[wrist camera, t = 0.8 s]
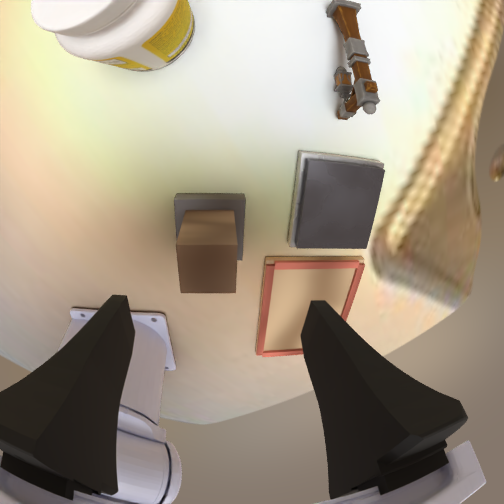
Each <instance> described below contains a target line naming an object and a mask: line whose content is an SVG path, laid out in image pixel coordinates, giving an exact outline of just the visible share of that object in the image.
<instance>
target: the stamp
mask: <svg viewBox="0 0 504 504" xmlns="http://www.w3.org/2000/svg"><path fill="white" fill-rule="evenodd" d="M174 205H175V222H176V236H177V243H176V250H177V261H178V272H179V281H180V290H181V293H236V273H237V260H242V256H243V237H244V218H245V195H244V194H233V193H180V194H176V197H175V199H174Z"/></svg>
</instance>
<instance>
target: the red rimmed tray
mask: <svg viewBox="0 0 504 504" xmlns="http://www.w3.org/2000/svg"><path fill="white" fill-rule="evenodd" d="M364 267H365V264H364V258H363V257H362V256H358V257H265V267H264V276H263V286H262V296H261V305H260V314H259V324H258V333H257V342H256V355H262V357H272V356H287V355H299V354H303V349H302V343H301V337H300V335H301V332H302V328H303V325H304V322H305V319H306V315H307V312H308V309H309V305H310V302H311V300H325V301H326V302H327V303H328V304H329V305H330V306H331V307H332V308H333V309H334V310H335V311H336V312H337V313H338V314H339V315H340V316H341V317H342V318H343V319H344V320H345V321H346V320H347V317H348V314H349V311H350V309H351V306H352V303H353V300H354V297H355V294H356V291H357V288H358V285H359V282H360V279H361V276H362V273H363V270H364Z"/></svg>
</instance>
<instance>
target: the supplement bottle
mask: <svg viewBox="0 0 504 504" xmlns="http://www.w3.org/2000/svg"><path fill="white" fill-rule="evenodd" d="M31 13H32V17H33V20H34V21H35V23H36V24H37V25H38V26H39V27H41V28H42V29H44V30H47V31H50V32H54V33H55V36H56V38H57V40H58V42H59V44H60V45H61V46H62V47H63V48H64V49H65V50H66V51H67V52H69V53H70V54H72V55H74V56H77V57H80V58H83V59H88V60H92V61H97V62H101V63H105V64H109V65H113V66H117V67H121V68H125V69H128V70H133V71H151V70H156V69H159V68H162V67H164V66H166V65H168V64H170V63H171V62H173V61H174V60H176V59H177V58H178V57H179V56H180V55H181V54H182V53H183V52H184V51H185V50H186V49H187V47H188V46H189V44H190V42H191V40H192V37H193V34H194V28H195V23H194V17H193V14H192V11H191V8H190V5H189V2H188V0H32V2H31Z"/></svg>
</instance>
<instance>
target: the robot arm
mask: <svg viewBox="0 0 504 504" xmlns="http://www.w3.org/2000/svg"><path fill="white" fill-rule="evenodd" d="M70 315H71V317H72V320H71V322H70V324H69V327H68V329H67V331H66V333H65V335H64V337H63V340H62V342H61V344H60V346H59V349H58V351H57V353H56V354H55V355H54V356H52V357H51V358H50V359H49V360H48V361H46V362H45V363H44V364H43V365H41V366H40V367H39V368H37V369H36V370H35V371H33V372H32V373H30V374H29V375H28V376H27V377H25V378H23V379H22V380H20V381H19V382H17V383H15V384H14V385H12V386H10V387H9V388H7V389H5V390H3V391H1V392H0V449H1V450H2V451H3V456H2V457H1V456H0V504H171V503H172V502H173V501H174V499H175V498H176V496H177V494H178V492H179V489H180V485H181V478H182V466H181V461H180V457H179V455H178V453H177V451H176V449H175V447H174V445H173V444H172V443H171V442H169V441H166V440H165V439H166V430H165V429H163V428H160V427H159V417H160V406H161V397H162V387H163V379H164V371H165V370H168V371H173V370H175V369H176V363H175V359H174V355H173V350H172V345H171V341H170V336H169V331H168V326H167V321H166V317H165V315H164V314H162V313H142V312H130V308H129V303H128V299H127V296H125V295H112V296H111V297H110V298H109V299H108V300H107V301H106V302H105V303H104V304H103V305H102V307H101V308H100V309H99V310H90V309H78V308H72V309H71V311H70ZM153 318H156V319H153ZM300 337H301V343H302V349H303V354H304V359H305V362H306V365H307V368H308V372H309V375H310V378H311V381H312V384H313V387H314V391H315V394H316V397H317V400H318V403H319V408H320V412H321V417H322V423H323V429H324V436H325V443H326V452H327V462H328V477H329V494H330V499H331V500H328V501H323V502H319V503H314V504H460V503H461V502H463V501H464V500H465V499H467V498H468V497H469V496H470V495H472V494H473V493H474V492H475V491H477V490H478V489H479V488H480V487H482V486H483V485H484V484H485V483H486V480H485V477H484V475H483V472H482V469H481V467H480V465H479V462H478V460H477V457H476V455H475V452H474V450H473V448H472V446H471V443H470V441H468V440H467V441H466V442H464V443H463V444H461V445H459V446H458V447H456V448H454V449H452V450H451V451H449V452H447V453H446V454H445V451H444V448H446V447H447V443H446V441H445V439H446V438H448V437H449V436H450V435H452V434H453V433H454V432H455V431H457V430H458V429H459V428H460V427H461V426H462V425H463V424H464V423H465V422H466V421H467V419H468V416H467V415H466V413H465V410H464V409H463V406H462V404H461V403H460V401H459V400H456V399H454V398H452V397H449V396H447V395H444V394H442V393H439V392H437V391H435V390H433V389H431V388H429V387H428V386H426V385H424V384H422V383H420V382H418V381H417V380H415V379H414V378H412V377H410V376H409V375H407V374H406V373H404V372H403V371H401V370H400V369H398V368H397V367H396V366H394V365H393V364H392V363H390V362H389V361H388V360H386V359H385V358H384V357H383V356H381V355H380V354H379V353H378V352H377V351H376V350H374V349H373V348H372V347H371V346H370V345H369V344H368V343H367V342H366V341H365V340H364V339H362V338H361V337H360V336H359V335H358V334H357V333H356V332H355V331H354V330H353V329H352V328H351V327H350V326H349V325H348V324H347V322H346V321H345V320H344V319H343V318H342V317H341V316H340V315H339V314H338V313H337V312H336V311H335V310H334V309H333V308H332V307H331V306H330V305H329V304H328V303H327V302H326V301H325V300H311V302H310V305H309V309H308V312H307V315H306V319H305V322H304V325H303V328H302V332H301V335H300Z"/></svg>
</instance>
